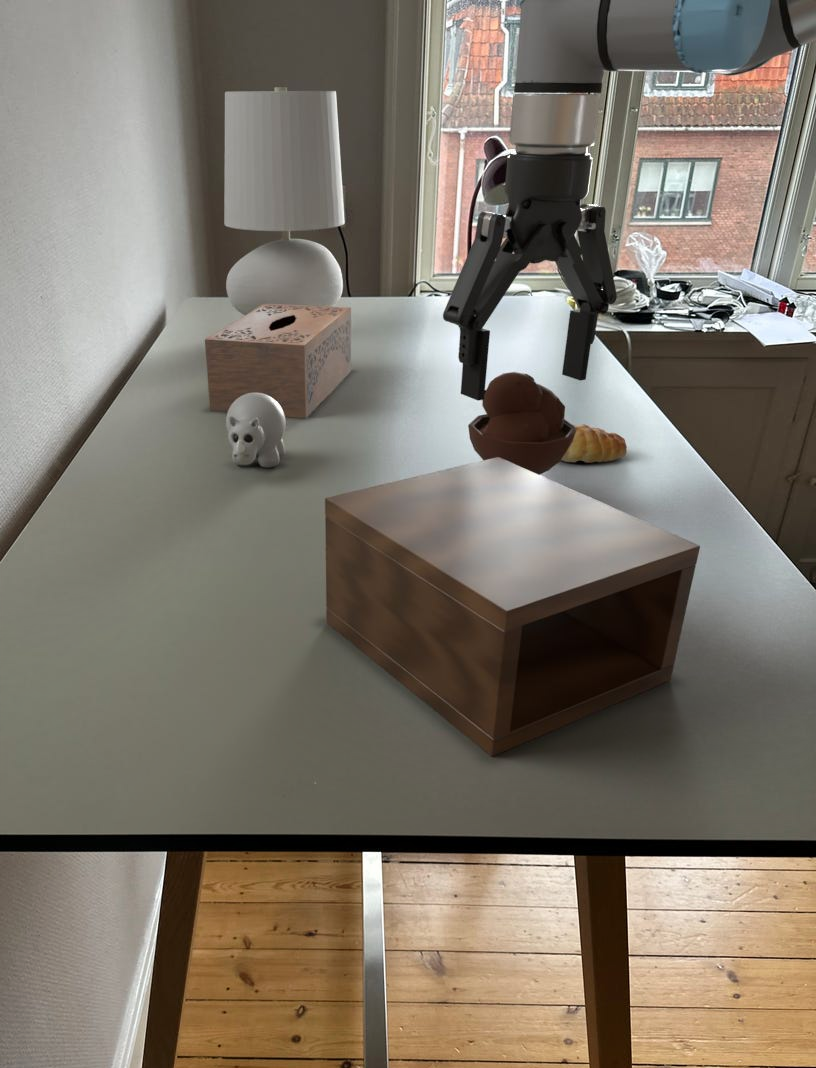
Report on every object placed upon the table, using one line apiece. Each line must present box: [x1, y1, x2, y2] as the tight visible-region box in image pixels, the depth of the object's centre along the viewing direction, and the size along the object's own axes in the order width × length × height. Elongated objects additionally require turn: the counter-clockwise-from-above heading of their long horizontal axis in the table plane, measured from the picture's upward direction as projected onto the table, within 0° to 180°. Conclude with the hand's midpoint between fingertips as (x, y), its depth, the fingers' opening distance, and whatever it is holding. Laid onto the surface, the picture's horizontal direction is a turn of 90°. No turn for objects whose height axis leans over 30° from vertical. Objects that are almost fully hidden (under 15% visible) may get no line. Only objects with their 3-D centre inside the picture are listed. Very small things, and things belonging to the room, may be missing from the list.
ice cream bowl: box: [467, 371, 577, 475], centre depth 96 cm, size 11×11×15 cm
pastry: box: [560, 424, 628, 463], centre depth 114 cm, size 9×7×4 cm
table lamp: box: [223, 86, 346, 316], centre depth 164 cm, size 23×22×40 cm
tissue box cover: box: [204, 304, 352, 419], centre depth 138 cm, size 26×14×10 cm, turn 165°
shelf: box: [324, 457, 701, 757], centre depth 72 cm, size 22×18×12 cm
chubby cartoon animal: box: [225, 393, 287, 469], centre depth 109 cm, size 7×12×8 cm, turn 169°
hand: (524, 387), depth 93 cm, fingers open, 13 cm apart
